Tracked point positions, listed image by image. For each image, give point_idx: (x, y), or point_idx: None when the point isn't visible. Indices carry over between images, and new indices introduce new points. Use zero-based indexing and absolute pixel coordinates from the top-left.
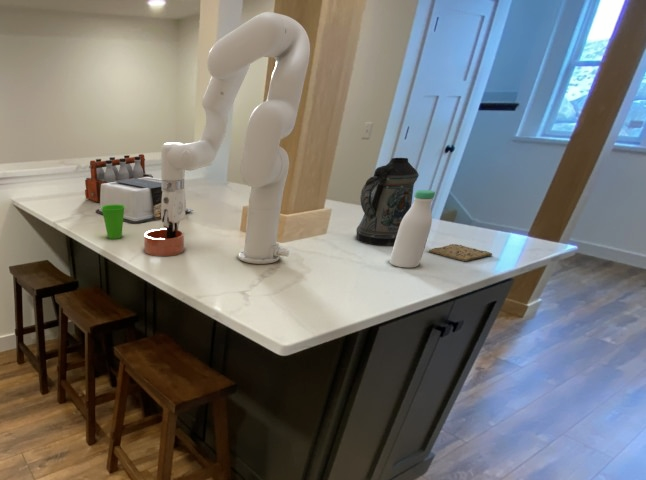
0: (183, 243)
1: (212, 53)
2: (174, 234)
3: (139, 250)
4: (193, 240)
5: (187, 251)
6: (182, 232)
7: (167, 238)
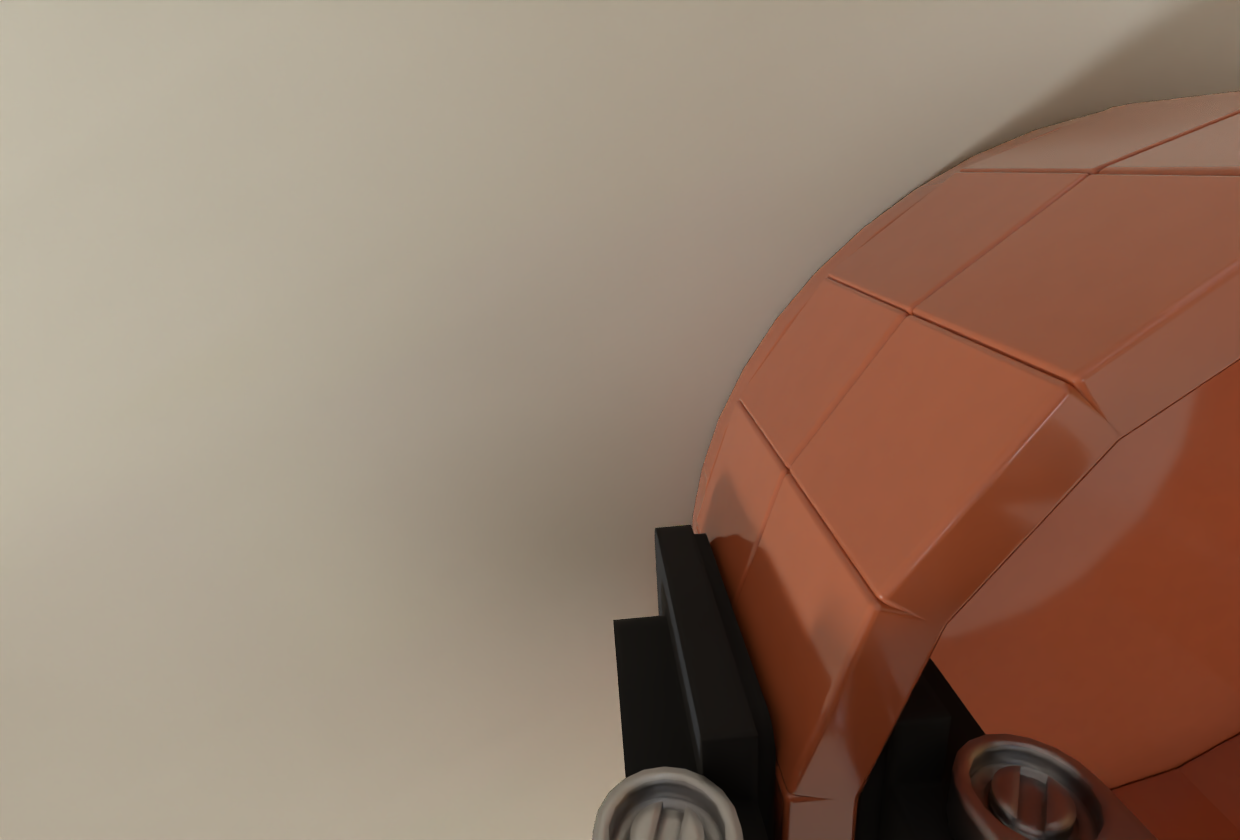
0: (1180, 119)
1: None
2: None
3: None
4: (98, 364)
5: (1025, 13)
6: (1187, 347)
7: None
